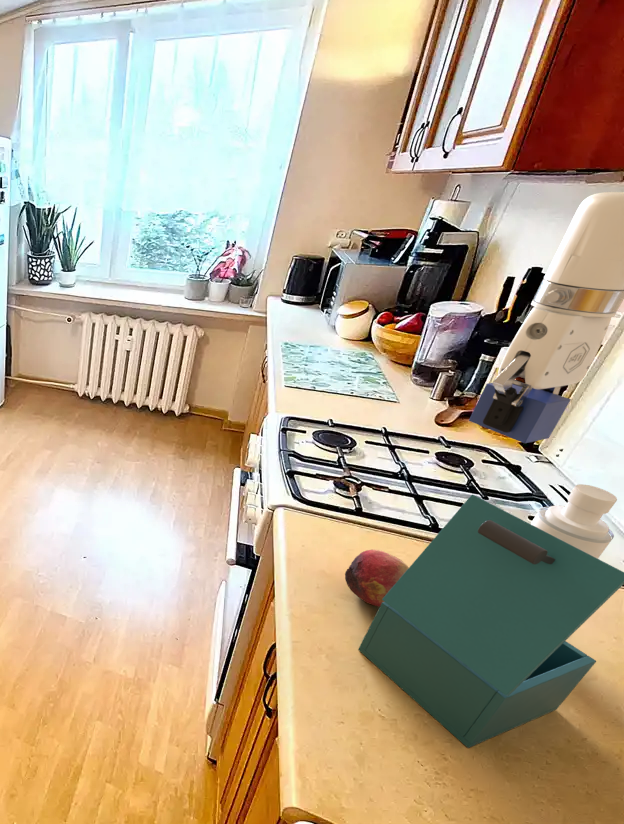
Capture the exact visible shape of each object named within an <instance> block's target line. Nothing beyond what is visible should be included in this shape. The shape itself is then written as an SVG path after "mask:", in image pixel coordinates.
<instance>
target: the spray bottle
mask: <svg viewBox="0 0 624 824" xmlns="http://www.w3.org/2000/svg"><path fill="white" fill-rule="evenodd" d="M617 501H618V498H617V496H616V495H614V494H613V493H611V492H610V491H608V490H606V489H603V488H600V487H597V486H593V485H590V484H579V483H578V484H576V485H574V487H573V489H572V490H571V491H570V493H569V495H568V496H567V503H566V505H558V504H557V505H551V506H543V507H541V508H540V509H538V511H537V512H536V515H534V518H533V519H532V521H530V524H531V525H533V526H535V527H537V528H539V529H541V530H543V531H545V532H547V533H549V534H551V535H553V536H555V537H556V538H558V539H560V540H562V541H564V542H566V543H568V544H570V545H572V546H574V547H576V548H578V549H580V550H582V551H584V552H586V553H588V554H590V555H591V556H593V557H595V558H597V559H600V557H601V556H602V554H603V553H604V551H605V550H606V549H607V547H608V546H609V544H610V543H611V542H612V540H613V539H614V537H615V534H614V532H613V531H612V530H611V529H610V527H609V525H608V524H607V523H606V522H605V521H604V520H602V519H601V518H602V517H603V516H604V515H606V514H609V512H610V511H611V510H612V508H613V507H614V505H615V503H616V502H617Z"/></svg>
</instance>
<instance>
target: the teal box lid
mask: <svg viewBox="0 0 624 824" xmlns="http://www.w3.org/2000/svg"><path fill="white" fill-rule="evenodd" d="M622 586H624V571H623V570H621V569H619V568H616V567H615V566H613V565H611V564H609V563H607V562H606V561H603V560H601V559H600V558H598V559H597V558H595V557H593V556H591V555H590V554H588V553H586V552H584V551H582V550H580V549H578V548H576V547H574V546H572V545H570V544H568V543H566V542H564V541H562V540H560V539H558V538H556V537H555V536H553V535H551V534H549V533H547V532H545V531H543V530H541V529H539V528H537V527H535V526H533V525H531V523H529V522H527V521H525V520H523V519H521V518H520V517H517V516H516V515H514V514H512V513H510V512H508V511H506V510H504V509H502V508H500V507H498V506H496V505H495V504H492V503H491V502H488V501H486V500H485V499H483V498H480V497H479V496H477V495H475V494H471V495H470V496H469V497H468V498H467V499H466V500H465V502H464V503H463V504H462V505H461V506H460V508H459V509H458V510H457V511H456V513H455V514H454V515H453V516H452V517H451V518H450V519H449V520H448V522H447V523H445V525H444V526H443V527H442V529H441V530H440V531H439V532H438V534H437V535H436V536H435V537H434V538H433V539H432V540H431V541H430V542H429V544H428V545H427V546H426V547H425V548H424V549H423V550H422V552H421V553H420V554H419V555H418V557H416V559H415V560H414V561H413V562H412V564H411V565H410V566H408V570H407V571H406V572H405V573H404V574H403V575H402V577H401V578H400V579H399V580H398V581H397V582H396V584H395V585H394V586H393V587H392V588H391V589H390V591H389V592H388V593H387V594H386V595H385V596H384V598H383V599H382V600H383V601H384V602H386V603H387V604H388V605H389V606H391V607H392V608H393V609H395V610H396V611H397V612H399V613H400V614H401V615H402V616H404V617H405V618H406V619H408V620H409V621H410V622H411V623H413V624H414V625H415V626H417V627H418V628H419V629H420V630H422V631H423V632H424V633H426V634H427V635H428V636H430V637H431V638H432V639H433V640H435V641H436V642H437V643H439V644H440V645H441V646H442V647H444V648H445V649H446V650H448V651H449V652H450V653H451V654H453V655H454V656H455V657H457V658H458V659H459V660H460V661H462V662H463V663H464V664H466V665H467V666H468V667H470V668H471V669H472V670H473V671H475V672H476V673H477V674H479V675H480V676H481V677H482V678H484V679H485V680H486V681H488V682H489V683H490V684H491V685H493V686H494V687H495V688H497V689H498V690H499V691H501V692H502V693H503V694H504V695H506V696H509V695H510V694H511V693H512V692H513V691H514V690H515V689H516V688H517V687H518V686H519V685H520V684H521V683H523V682H524V681H525V680H526V679H527V678H528V677H529V676H530V675H531V674H532V673H533V672H534V671H535V670H536V669H537V668H538V667H539V666H540V665H541V664H542V663H543V662H544V661H545V660H546V659H547V658H548V657H549V656H550V655H551V654H552V653H553V652H554V651H555V650H556V649H558V648H559V647H560V646H561V645H562V644H563V643H564V642H565V641H566V642H567V640H568V639H569V638H570V637H571V636H572V635H573V634H574V633H575V632H577V630H578V629H579V628H580V627H581V626H582V625H583V624H585V622H587V620H589V619H590V617H592V616H593V615H594V614H595V613H596V612H597V611H598V610H599V609H600V608H601V607H603V605H604V604H605V603H607V602H608V600H609V599H610V598H612V596H613V595H614V594H615V593H616V592H617V591H619V589H620V588H622Z"/></svg>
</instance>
